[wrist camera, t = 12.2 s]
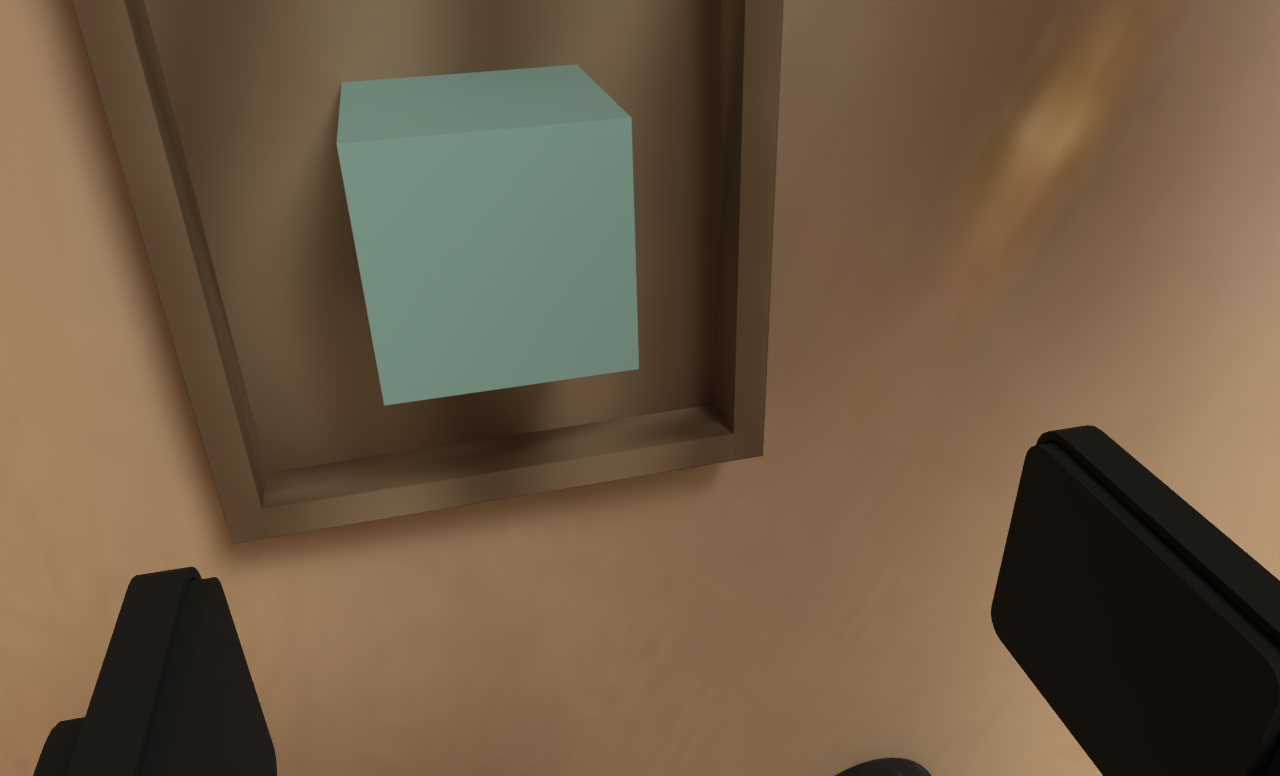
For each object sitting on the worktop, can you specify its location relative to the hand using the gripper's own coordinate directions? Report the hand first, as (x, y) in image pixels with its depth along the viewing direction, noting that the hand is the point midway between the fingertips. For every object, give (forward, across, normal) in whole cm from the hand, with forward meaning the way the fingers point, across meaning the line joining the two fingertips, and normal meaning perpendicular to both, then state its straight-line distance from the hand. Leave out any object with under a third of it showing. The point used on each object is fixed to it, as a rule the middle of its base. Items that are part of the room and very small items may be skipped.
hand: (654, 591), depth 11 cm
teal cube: (+18, +1, +1) cm, 18 cm away
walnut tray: (+18, +1, +1) cm, 18 cm away
